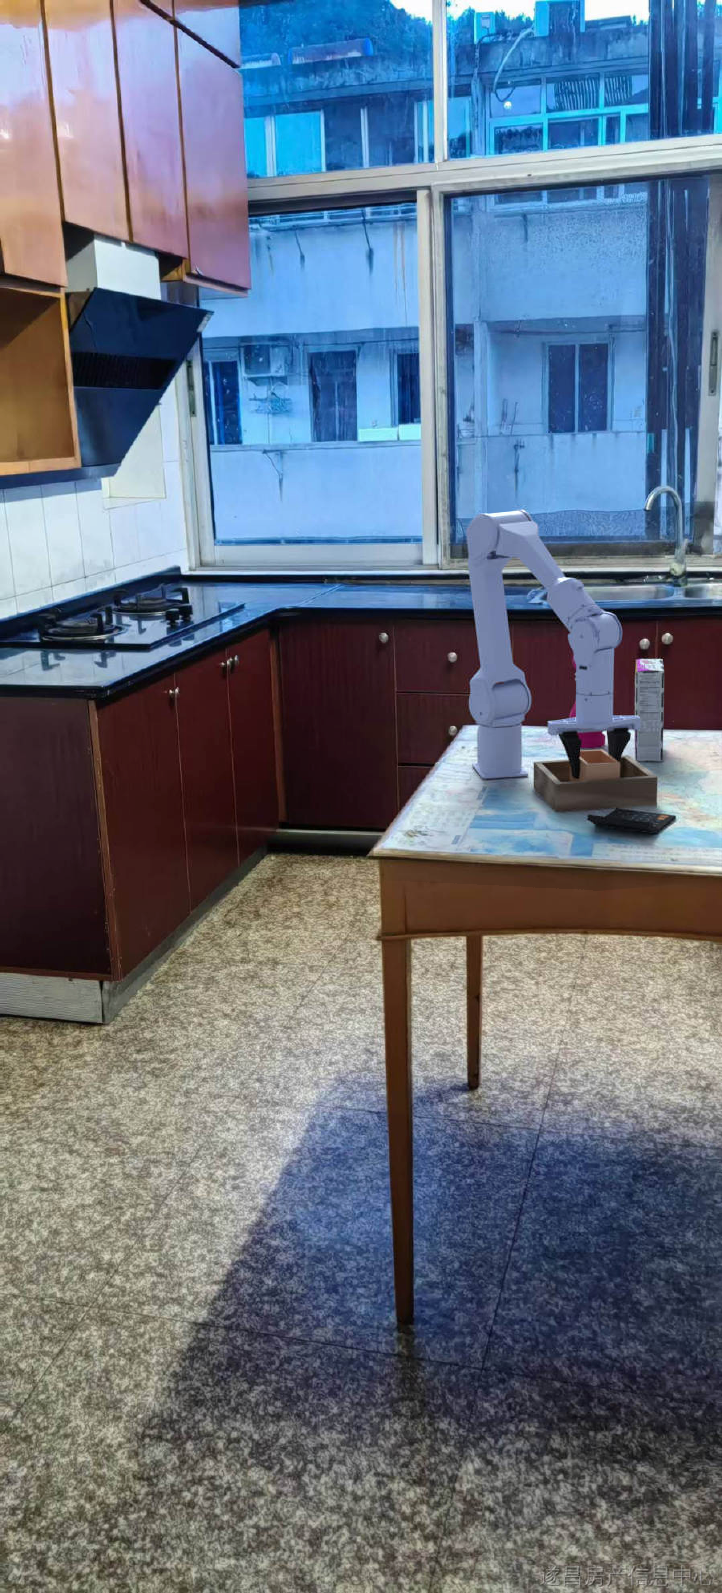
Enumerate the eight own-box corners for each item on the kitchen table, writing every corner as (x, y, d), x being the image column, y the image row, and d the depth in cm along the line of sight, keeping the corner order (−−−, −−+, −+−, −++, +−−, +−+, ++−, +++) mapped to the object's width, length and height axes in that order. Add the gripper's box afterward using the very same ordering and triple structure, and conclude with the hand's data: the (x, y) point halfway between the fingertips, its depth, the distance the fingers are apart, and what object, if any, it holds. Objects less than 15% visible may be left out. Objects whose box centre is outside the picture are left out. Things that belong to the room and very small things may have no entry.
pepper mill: (568, 749, 231) (568, 641, 226) (568, 740, 238) (569, 634, 232) (608, 749, 230) (609, 640, 224) (607, 739, 237) (609, 634, 231)
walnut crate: (533, 788, 207) (533, 761, 206) (627, 781, 209) (628, 755, 208) (556, 812, 194) (556, 784, 193) (656, 804, 196) (657, 777, 194)
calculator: (675, 821, 189) (676, 801, 188) (648, 843, 179) (648, 823, 178) (616, 813, 194) (616, 794, 193) (586, 834, 184) (586, 814, 183)
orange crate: (569, 780, 205) (570, 750, 203) (601, 779, 205) (602, 749, 204) (585, 795, 196) (586, 764, 195) (618, 794, 197) (620, 763, 195)
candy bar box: (633, 747, 231) (635, 658, 226) (661, 747, 230) (663, 658, 225) (633, 762, 220) (635, 670, 216) (663, 762, 219) (665, 669, 215)
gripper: (556, 700, 192) (555, 785, 196) (648, 694, 194) (646, 779, 197) (544, 691, 199) (544, 774, 203) (633, 685, 200) (631, 767, 204)
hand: (593, 775), depth 201 cm, fingers closed on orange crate, 5 cm apart
